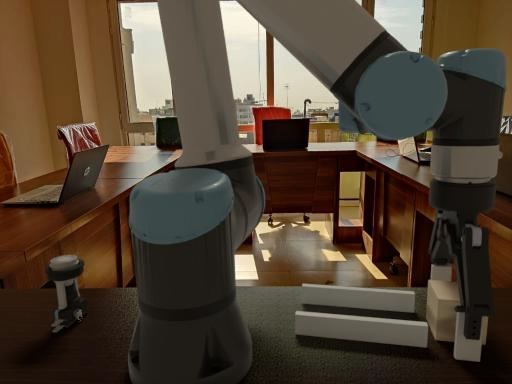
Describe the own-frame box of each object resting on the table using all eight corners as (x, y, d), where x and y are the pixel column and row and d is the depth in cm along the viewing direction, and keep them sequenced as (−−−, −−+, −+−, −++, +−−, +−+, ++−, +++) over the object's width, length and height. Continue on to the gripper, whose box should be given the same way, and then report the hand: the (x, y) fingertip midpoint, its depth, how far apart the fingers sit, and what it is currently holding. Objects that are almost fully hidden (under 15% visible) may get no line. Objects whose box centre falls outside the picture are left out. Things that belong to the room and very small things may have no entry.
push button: (70, 336, 53) (61, 270, 51) (37, 334, 54) (27, 268, 52) (97, 312, 60) (90, 253, 58) (67, 310, 60) (59, 252, 59)
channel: (295, 334, 52) (295, 314, 52) (302, 300, 62) (302, 283, 61) (426, 347, 48) (428, 326, 48) (412, 309, 58) (413, 291, 57)
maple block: (435, 340, 50) (438, 298, 49) (425, 317, 56) (428, 279, 55) (485, 345, 49) (489, 302, 47) (470, 321, 54) (473, 282, 53)
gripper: (546, 198, 35) (522, 395, 39) (464, 165, 59) (454, 290, 63) (459, 197, 37) (445, 386, 41) (413, 165, 61) (407, 287, 65)
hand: (451, 328), depth 52 cm, fingers open, 13 cm apart
